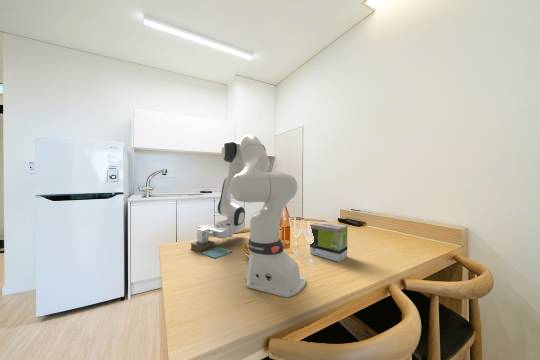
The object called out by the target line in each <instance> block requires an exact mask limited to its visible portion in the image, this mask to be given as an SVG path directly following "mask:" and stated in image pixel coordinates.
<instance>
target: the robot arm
mask: <svg viewBox="0 0 540 360" xmlns="http://www.w3.org/2000/svg"><path fill="white" fill-rule="evenodd" d="M266 151H267V150H266V147H265V145H264V144H262V142H261V141H260V139H259V138H258V137H257V136H256V135H253V134H246V135H244V136H243V137H241V139H240V140H239V141H238V140H236V141H234V140H228V141H225V142H224V143H223V145H222V147H221V155H222V159H223V161H225V162H226V163H229V164H228V172H227V176H226V177H225V178H224V180H223V183H222V186H221V188H222V189H221V193H220V198H219V202H218V204H217V212H218V214H219V215H221V216H224V217H226V219H225V220H220V221H217V222H216V223H215V225H213V224H202V225H199V226H198V228H197V229H201V228H206V229H209V233H204V237H208V238H209V237H214V238H218V239H220V240H221V239H222V240H223V239H227V238H232V237H233V235H234V234H236V233H239V232H241V231H243V229H244V228H245V227H246V221H245V218H246V217H245V216H246V211H245V208H244V207H243V206H241V205H239V204H237V203H235V202H233V201H232V199H231V196H232V198H233V199H234V200H235V201H237V202H242V203H247V204H248V203H263V206H262V207H261V209H259V211H257V212H255V213H254V214H253V215H252V216H251V218H250V220H249V237H248V238H249V239H248V250H249V254H248V256H249V257H248V263H247V268H246V272H245V275H244V278H245V280H246V284H245V286H246V287H247V288H250V289H253V290H257V291H259V292H260V291H261V292H264V293H269V294H272V295H275V296H280V297H283V298H289V297H292V296H296V294H298V293H301V291H302V290H303V289H304V288H305V286H306V284H307V279H306V276H303V275H301V273H300V268H299V265H298V262H296V261H295V259H293V258H292V257H291V256H290V255H289V254H288V253H287V252H286V250H285V249H284V247H286V244H287V243H286V242H282V240H281V238H280V231H281V230H280V229H281V219H282V214H283V212H284V210H285V208H286V206H287V205H288V204H289V202H290V201H291V200H292V199H293V198H294V197H295V196H296V195H297V192H298V181H297V180H296V178H295V177H294V176H293V175H292V174H289V173H285V172H268V170H269V168H270V164H271V161H270V158H269V156H268V154H267V152H266Z"/></svg>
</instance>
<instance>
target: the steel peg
mask: <svg viewBox="0 0 540 360" xmlns="http://www.w3.org/2000/svg"><path fill="white" fill-rule="evenodd" d="M204 233H209V229H206V228H201V229H198V228H197V229H196V234H197V235H196V242H197V244H200V245H203V244H206V243H208V240H209V236H208V237H204Z"/></svg>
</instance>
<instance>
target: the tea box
mask: <svg viewBox="0 0 540 360" xmlns="http://www.w3.org/2000/svg"><path fill="white" fill-rule="evenodd" d="M310 226H311V229H312V233H313V236H314V242H313V243H312V244H310V243H309V254H310V255H313V256H317V257H321V258H323V259H324V258H325V259H327V260H330V261H335V262H338V263H339V262H341V261H343V260H344V259H346V258H347V257H348V225H344V224H338V223H337V224H336V223H330V222H323V221H317V222H314V223H311V224H309V227H310Z"/></svg>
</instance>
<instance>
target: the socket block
mask: <svg viewBox="0 0 540 360" xmlns="http://www.w3.org/2000/svg"><path fill="white" fill-rule="evenodd" d="M214 248H215V241H212V240H209V239H208V243H206V244H203V245H200V244H197V241H193V242H191V243H190V249H191V250H193V251H196V252H199V253H203V252H205V251H208V250H211V249H214Z"/></svg>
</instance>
